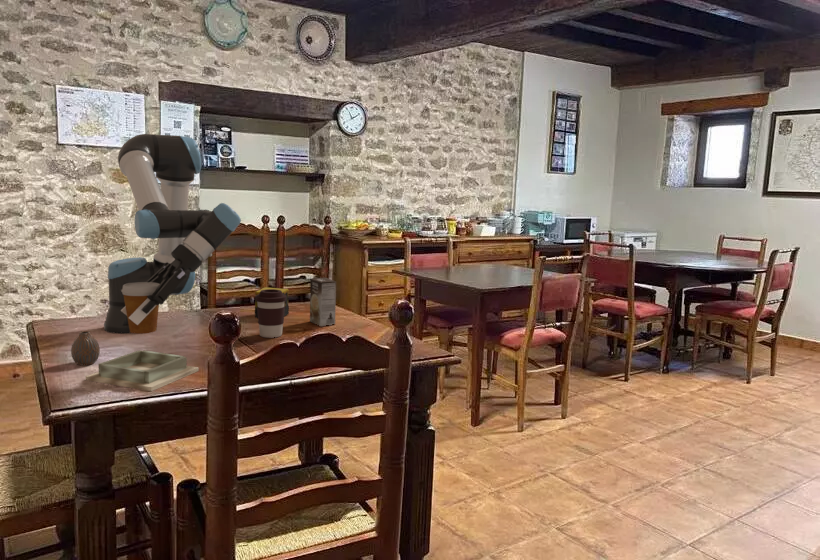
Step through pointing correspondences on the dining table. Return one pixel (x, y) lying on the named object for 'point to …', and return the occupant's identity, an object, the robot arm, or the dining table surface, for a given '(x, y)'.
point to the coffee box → (322, 301)
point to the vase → (85, 349)
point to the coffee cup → (270, 312)
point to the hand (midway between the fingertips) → (128, 317)
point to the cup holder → (143, 370)
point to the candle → (285, 292)
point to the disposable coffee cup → (133, 299)
